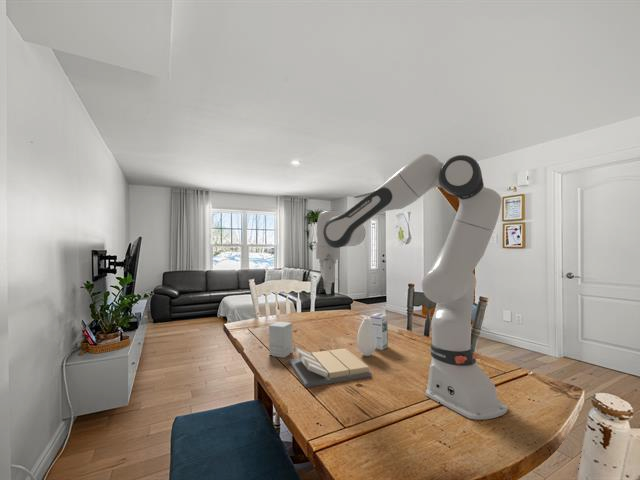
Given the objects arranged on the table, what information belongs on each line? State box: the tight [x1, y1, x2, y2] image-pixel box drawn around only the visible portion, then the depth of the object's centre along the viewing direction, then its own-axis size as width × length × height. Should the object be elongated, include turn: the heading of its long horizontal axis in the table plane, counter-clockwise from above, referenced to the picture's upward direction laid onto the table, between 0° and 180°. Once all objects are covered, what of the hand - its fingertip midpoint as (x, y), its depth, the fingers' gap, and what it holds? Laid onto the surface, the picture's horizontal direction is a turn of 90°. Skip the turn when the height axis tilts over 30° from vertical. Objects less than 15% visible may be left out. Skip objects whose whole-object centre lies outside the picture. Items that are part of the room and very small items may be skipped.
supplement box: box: [268, 321, 293, 358], centre depth 126 cm, size 7×7×13 cm
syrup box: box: [369, 312, 389, 351], centre depth 134 cm, size 6×6×14 cm
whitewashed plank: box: [292, 345, 328, 377], centre depth 108 cm, size 20×7×2 cm, turn 20°
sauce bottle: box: [356, 311, 377, 357], centre depth 124 cm, size 8×8×18 cm
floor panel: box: [288, 348, 372, 388], centre depth 110 cm, size 22×24×3 cm
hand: (327, 291), depth 112 cm, fingers open, 8 cm apart
